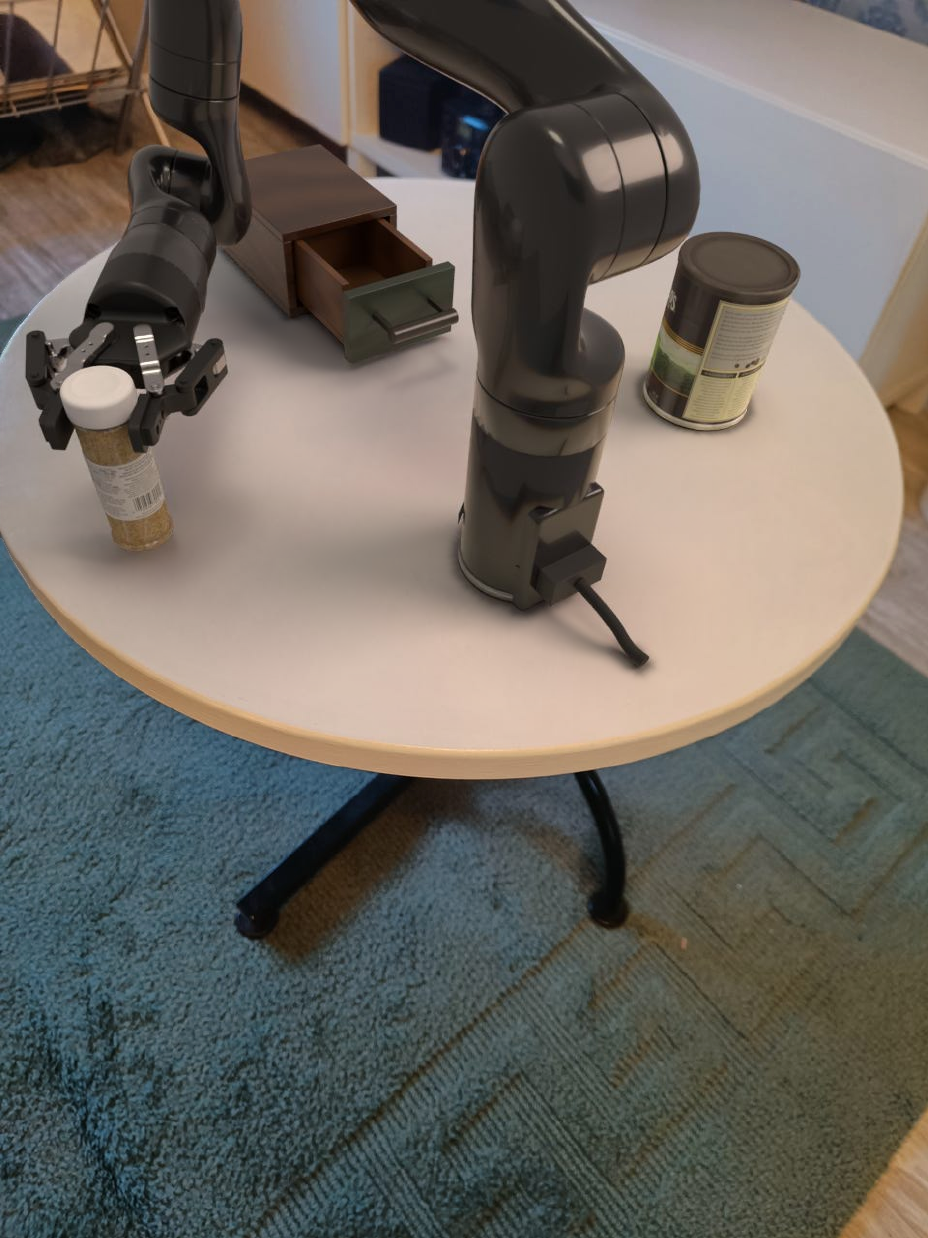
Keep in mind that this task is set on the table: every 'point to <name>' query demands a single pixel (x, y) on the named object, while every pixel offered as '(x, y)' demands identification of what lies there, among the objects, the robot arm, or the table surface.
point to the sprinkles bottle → (117, 456)
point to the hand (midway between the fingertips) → (95, 440)
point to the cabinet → (300, 214)
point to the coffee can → (718, 328)
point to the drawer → (373, 288)
